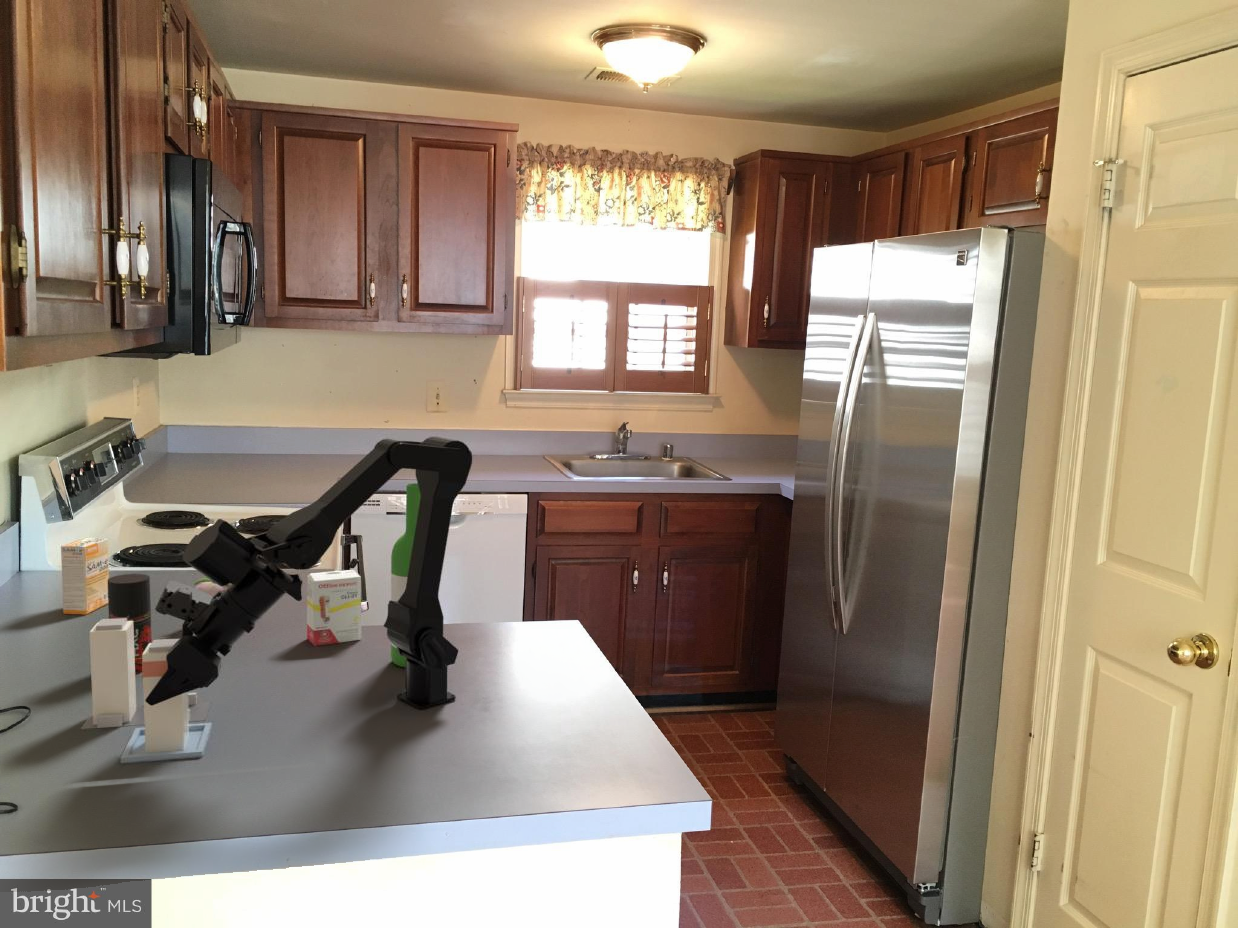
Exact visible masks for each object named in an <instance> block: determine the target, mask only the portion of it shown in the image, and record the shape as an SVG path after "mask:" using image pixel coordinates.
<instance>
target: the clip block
mask: <svg viewBox="0 0 1238 928" xmlns="http://www.w3.org/2000/svg"><path fill="white" fill-rule="evenodd" d="M197 694H198V693H197V692H188V710H189V723H191V722H204V721H206V720H207V716H208V713H209V710H210V709H211V704H212V701H202V702H201V701H199V702H198V699H197V698H198V697H197ZM133 726H134V727H136V726H145V721H144V705H140V706H139V705H136V711H135V713H134V715H133V717H132V719H131V721H130V722H124V723H123V713H122V714H107V715H98V716H97V724H95V725H93V710H92V711H91V712H90V714H89V715H88V717H87V719H86V720H85V721H84V723H83V724H82V726H81V728H80V730H89V729H90V730H92V729H104V728H115V727H116V728H118V727H133Z"/></svg>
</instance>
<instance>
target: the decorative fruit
mask: <svg viewBox="0 0 1238 928" xmlns="http://www.w3.org/2000/svg"><path fill="white" fill-rule="evenodd" d="M193 585H194V586H195V587H194V588H195V589H198V590H200V591H202V592H204V593H206V594H209V595H211V596H214V595H215V594H216V593H217V592H218V591H219V590H221V591H223V590H224V589H225V590H226V589H227V588H228V587H229V586H230V585H232V584H230V583H229V584H227V585H225V586H219V585H217V584H216V583H215V582H213V581H212V580H210V579H209V578H207V577H204V578H203V577H202V578H200V579H198V580H196V581H195V583H194V584H193Z"/></svg>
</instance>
